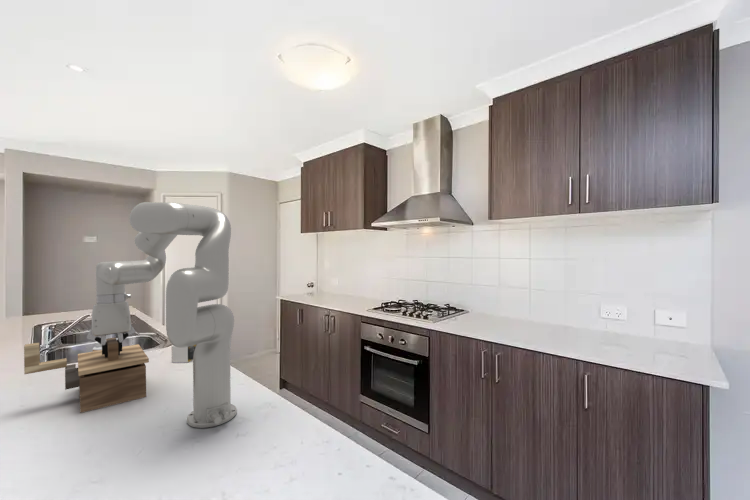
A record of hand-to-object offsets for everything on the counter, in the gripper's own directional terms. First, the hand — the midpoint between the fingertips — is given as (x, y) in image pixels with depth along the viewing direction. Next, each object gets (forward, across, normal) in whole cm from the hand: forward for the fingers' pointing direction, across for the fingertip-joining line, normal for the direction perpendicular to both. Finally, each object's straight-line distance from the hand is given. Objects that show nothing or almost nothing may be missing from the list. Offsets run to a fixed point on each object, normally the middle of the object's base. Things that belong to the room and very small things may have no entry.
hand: (112, 354), depth 112 cm
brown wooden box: (+13, +2, 0) cm, 13 cm away
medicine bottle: (+13, -26, -22) cm, 36 cm away
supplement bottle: (+12, +1, -34) cm, 37 cm away
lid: (+2, 0, 0) cm, 2 cm away
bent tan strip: (+1, +16, 0) cm, 16 cm away
